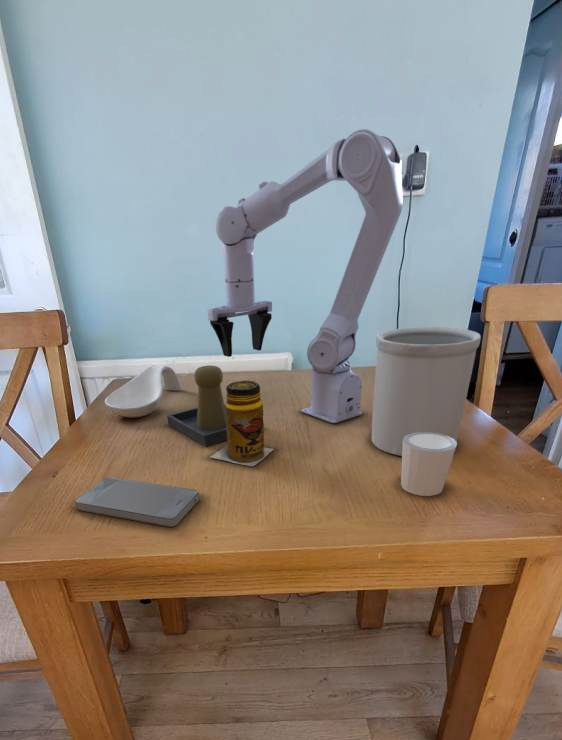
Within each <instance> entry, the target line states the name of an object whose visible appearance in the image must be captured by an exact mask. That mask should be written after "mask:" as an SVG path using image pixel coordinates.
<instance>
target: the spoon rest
mask: <svg viewBox="0 0 562 740" xmlns="http://www.w3.org/2000/svg"><path fill="white" fill-rule="evenodd" d="M181 388H182V385H181V381H180V379H179V377H178V374H177V372H175V370H174V369H173V368H172V367H170V366H168V365H163V366H160V365H150V366H148V367H147V368H145V369H144V370H142V371H141V372H140V373H139V374H137V375H136V376H135V377H133V378H132V379H130V380H129V381H128V382H126V383H125V384H123V385H122V386H120V387H119V388H117V389H116V390H114V391H113V392H111V393H110V394H109V395H107V397H106V398H105V400H104V404H105V406H106V407H107V408H108V409H109V410H110V411H111V412H113V413H114V414H116V415H118V416H120V417H125V418H128V419H137V418H142V417H146V416H149V415H150V414H151V413H152V412H153V411H154V410H155V409H156V408H157V407H158V405H159V404H160V402H161V399H162V395H163V389H165V390H180V389H181Z"/></svg>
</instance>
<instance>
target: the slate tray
mask: <svg viewBox="0 0 562 740" xmlns="http://www.w3.org/2000/svg"><path fill="white" fill-rule="evenodd" d="M225 404H226V403H224V406H225ZM197 412H198V406H197V407H193V408H190V409H185V410H182V411H178V412H175V413H171V414H167V415H166V418H167V425H168V427H171V428H172V429H174V430H175V431H177V432H179V433H181V434H182V435H185V436H186V437H188V438H189V439H191V440H192V441H195V442H196V443H198V444H200V445H202V446H203V447H205V448H206V447H207V448H208V447H210V446H212V445H216V444H219V443H222V442H225V441H227V427H224V428H222V429H218V430H202V429H200V428H198V427H197Z"/></svg>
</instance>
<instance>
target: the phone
mask: <svg viewBox="0 0 562 740" xmlns="http://www.w3.org/2000/svg"><path fill="white" fill-rule="evenodd" d="M199 501H200V492H199V491H198V490H197V489H192V488H185V487H178V486H172V485H166V484H159V483H152V482H145V481H138V480H131V479H126V478H120V477H112V476H106V477H104V478H103V479H102V480H101V481H99V482H97V483H96V484H95V485H93V486H92V487H91V488H89V489H88V490H87V491H86V492H84V493H83V494H82V495H80V496H79V497H77V498H76V499H75V506H76V509H77V510H78V511H81V512H87V513H91V514H98V515H102V516H108V517H113V518H120V519H124V520H130V521H136V522H140V523H145V524H146V523H147V524H150V525H151V524H152V525H157V526H162V527H168V528H174V527H176V526H177V525H179V523H180V522H181V521H182V520H183V519H184V518H185V517H186V516H187V515H188V513H189V512H190V511H191V510H192V509H193V508H194V507H195V505H196V504H198V502H199Z"/></svg>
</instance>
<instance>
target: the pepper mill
mask: <svg viewBox="0 0 562 740" xmlns="http://www.w3.org/2000/svg"><path fill="white" fill-rule="evenodd" d="M193 376H194V382H195V384H196V385H197V387H198V388H197V407H198V412H197V427H198V428H200V429H202V430H218V429H222V428H224V427H226V412H225V406H224V404H225V401H224V395H223V391H222V387H221V384H222V383H223V378H224V373H223V371H222V369H221V368H220V367H219V366H217V365H210V364H209V365H202V366H200V367H197V368H196V370H195V371H194V375H193Z"/></svg>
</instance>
